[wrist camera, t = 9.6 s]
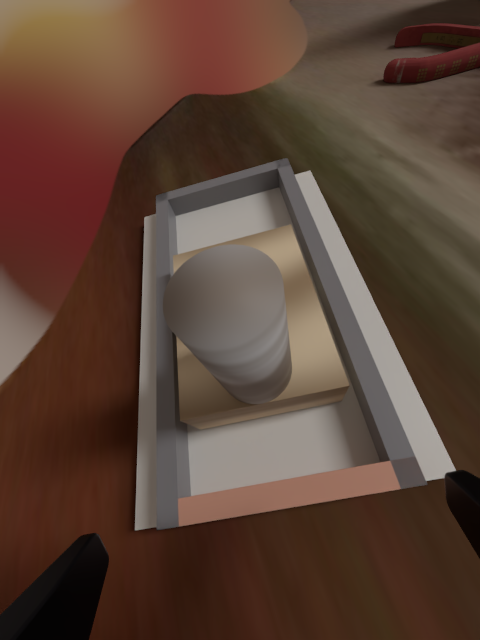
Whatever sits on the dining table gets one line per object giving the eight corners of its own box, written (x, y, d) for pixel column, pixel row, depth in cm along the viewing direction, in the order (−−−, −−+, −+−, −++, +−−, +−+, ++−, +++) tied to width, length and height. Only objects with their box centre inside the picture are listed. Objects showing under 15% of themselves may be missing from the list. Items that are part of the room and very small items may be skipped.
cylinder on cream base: (341, 401, 17) (389, 310, 8) (200, 429, 18) (85, 380, 8) (292, 256, 23) (285, 106, 14) (189, 283, 24) (114, 158, 14)
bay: (449, 475, 15) (479, 475, 13) (143, 527, 17) (114, 537, 14) (310, 179, 29) (310, 150, 27) (148, 224, 31) (134, 201, 28)
